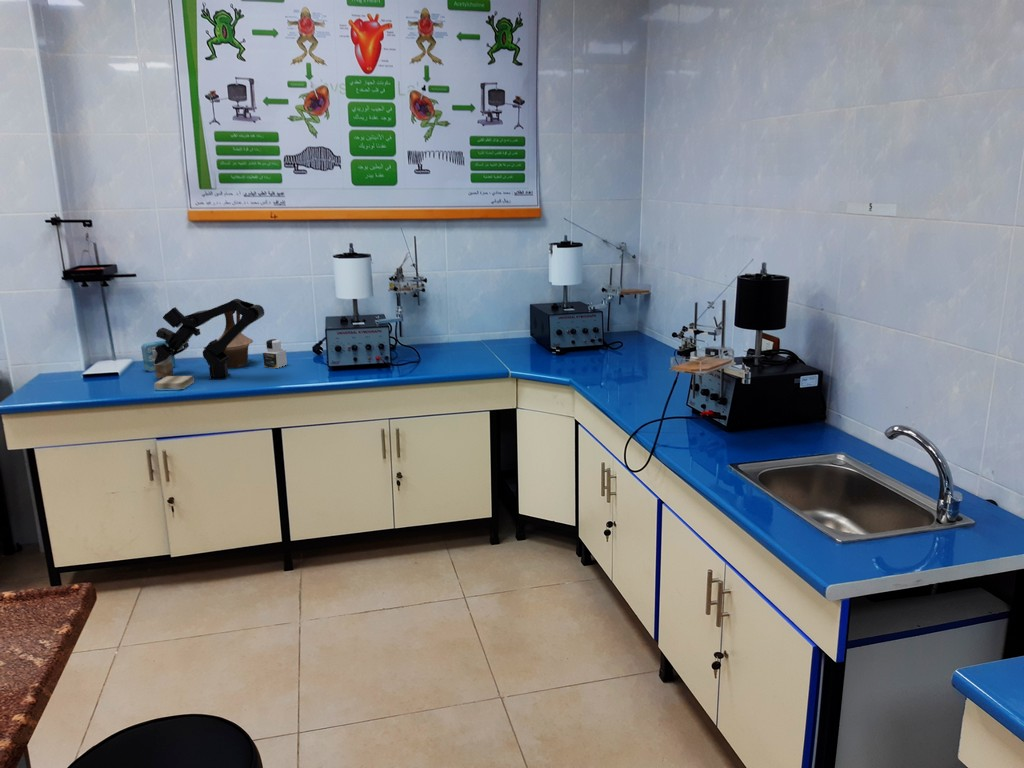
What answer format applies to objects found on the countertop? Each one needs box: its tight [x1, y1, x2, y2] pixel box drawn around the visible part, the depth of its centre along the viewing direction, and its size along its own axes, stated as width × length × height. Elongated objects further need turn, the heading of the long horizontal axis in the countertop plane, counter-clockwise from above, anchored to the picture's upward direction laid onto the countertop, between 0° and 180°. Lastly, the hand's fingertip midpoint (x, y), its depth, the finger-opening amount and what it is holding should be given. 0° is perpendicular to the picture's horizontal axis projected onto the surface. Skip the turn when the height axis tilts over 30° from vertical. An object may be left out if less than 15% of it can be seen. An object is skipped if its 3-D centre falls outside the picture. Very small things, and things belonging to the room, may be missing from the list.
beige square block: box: [153, 375, 195, 391], centre depth 310 cm, size 11×11×3 cm
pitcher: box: [217, 310, 254, 369], centre depth 340 cm, size 18×17×28 cm
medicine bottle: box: [262, 338, 288, 369], centre depth 339 cm, size 7×7×12 cm
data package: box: [140, 339, 176, 373], centre depth 336 cm, size 12×4×12 cm, turn 135°
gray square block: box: [152, 350, 174, 378], centre depth 324 cm, size 5×5×12 cm
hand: (160, 360), depth 323 cm, fingers open, 9 cm apart
